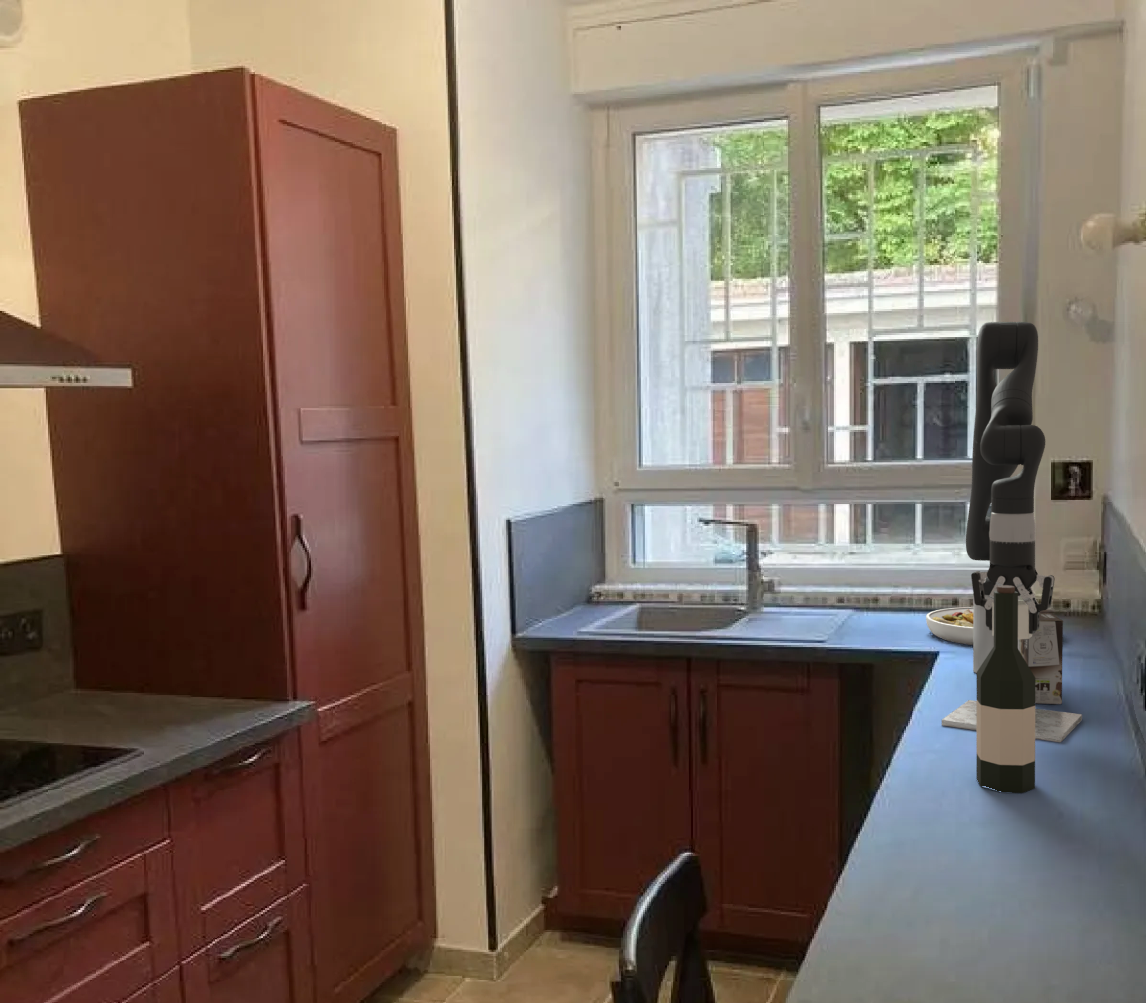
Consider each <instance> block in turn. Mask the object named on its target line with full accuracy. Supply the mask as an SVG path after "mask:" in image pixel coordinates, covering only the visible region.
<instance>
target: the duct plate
mask: <svg viewBox="0 0 1146 1003" xmlns="http://www.w3.org/2000/svg"><path fill="white" fill-rule="evenodd" d="M1082 721H1083V714H1081V713H1074V712H1073V713H1072V712H1065V711H1057V710H1050V709H1044V708H1043V709H1041V708H1035V740H1040V741H1041V740H1042V741H1048V742H1055V743H1062V742H1063V741H1064V740H1065V738H1067V736H1068V735H1069V734H1071V732H1072V731H1073V730H1074V729H1075V728H1076V727H1077V726H1078V725H1079V724H1080V723H1081V722H1082ZM941 726H944V727H950V728H958V729H965V730H972V731H977V700H970V699H968V700H966V702H964V703H963V704H961V705H960V706H958V707H957V708H956V709H954V710H953V711H952V712H950V713H949V714H947V715H946V716H945V717H943V718H942V719H941Z"/></svg>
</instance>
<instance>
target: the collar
mask: <svg viewBox="0 0 1146 1003" xmlns="http://www.w3.org/2000/svg"><path fill="white" fill-rule="evenodd" d="M1029 613H1030V610H1029V605H1027V604H1026V603H1025V602H1024V600H1023V599H1022V600H1021V599H1020V600H1018V639H1029V638H1030V637H1032V634H1029ZM992 636H994V602H992Z"/></svg>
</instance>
